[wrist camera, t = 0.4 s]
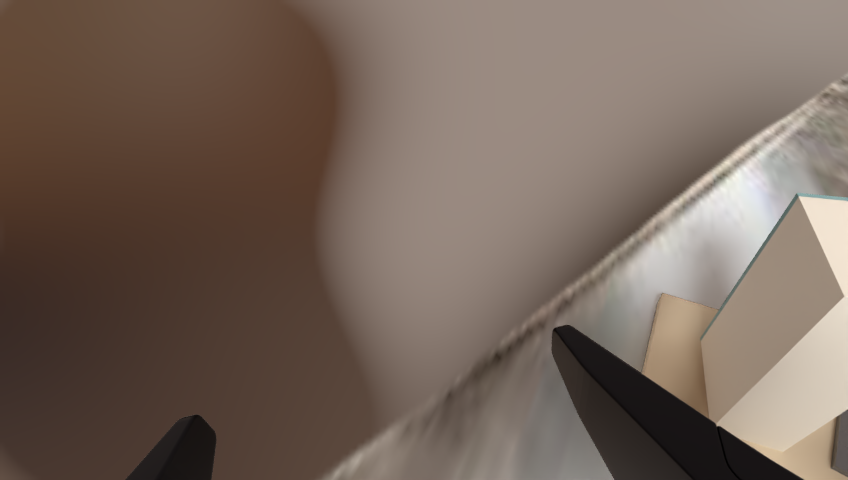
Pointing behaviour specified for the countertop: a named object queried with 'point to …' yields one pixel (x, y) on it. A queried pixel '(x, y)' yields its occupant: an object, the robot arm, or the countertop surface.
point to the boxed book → (784, 331)
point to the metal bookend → (841, 445)
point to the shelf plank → (684, 377)
